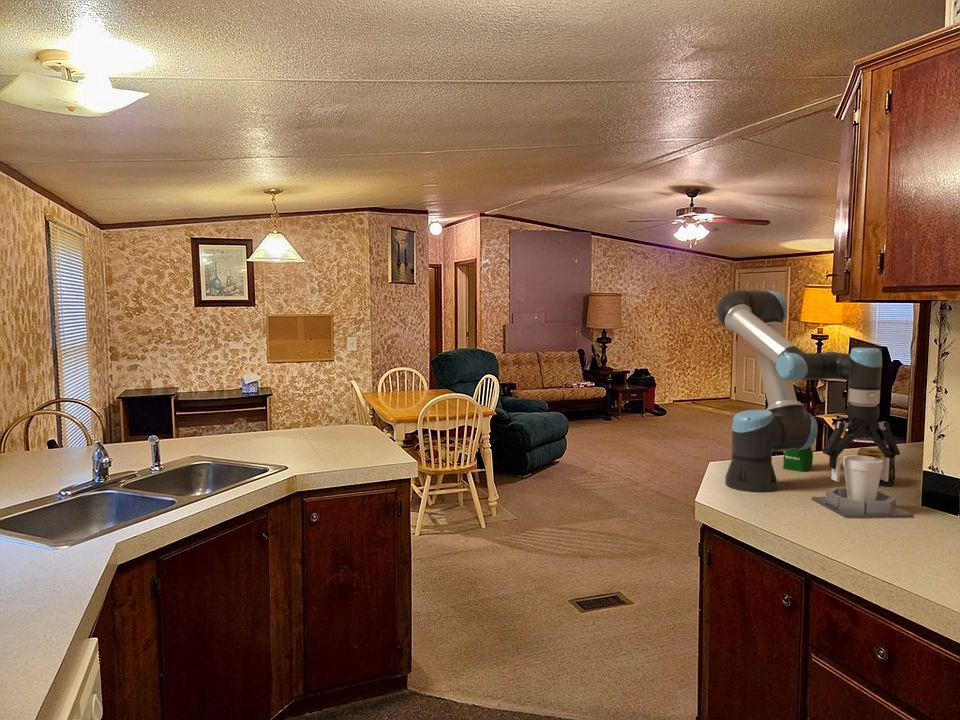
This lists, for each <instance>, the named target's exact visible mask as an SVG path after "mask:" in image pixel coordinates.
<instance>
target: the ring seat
mask: <svg viewBox="0 0 960 720" xmlns="http://www.w3.org/2000/svg"><path fill="white" fill-rule="evenodd" d="M811 500H812V501H814V502H815V503H817V504H819V505H821V506H822V507H825V508H827V509H829V510H830V511H832V512H834V513H836V514H838V515H840V516H842V518H843V517H844V518H846V519H880V518H882V519H883V518H884V519H889V518H890V519H891V518H892V519H893V518H894V519H895V518H897V519H899V518H901V519H902V518H905V519H906V518H911V519H912V518H915V516H914V514H913V513H911V512H909V511H907V510H904V509H902V508H900V507H898V506H897V497H896V496H894V495H892V494H889V493H887V492H884V491H882V490H878V491H877V497H876V501H861V500H855V499H849V498H848V497H847V488H846V486H843V487H842V486H836V487H835V486H834V487H831V488H830V489H827V490H826V491H825V496H811Z"/></svg>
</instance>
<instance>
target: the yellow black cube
mask: <svg viewBox="0 0 960 720" xmlns="http://www.w3.org/2000/svg"><path fill="white" fill-rule="evenodd" d="M857 455H860V456H870V457H875V458H879V459H881V456H885V455H884V454H883V453H882V452H881V450H880V449H879V448H869V447H867V448H866V447H859V449H858V451H857ZM895 458H896V457H895ZM895 458H892V467H891V469H889V476H888V481H883V480H881V479H880V481H879V487H891V488H893V487H894V485H895V480H896V467H895Z"/></svg>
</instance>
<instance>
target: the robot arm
mask: <svg viewBox="0 0 960 720" xmlns="http://www.w3.org/2000/svg"><path fill="white" fill-rule="evenodd" d="M716 304H717V305H716V310H715V312H716V316H717V319H718V321H719V323H720V324H721V325H722V326H723V327H725V328H726V329H727V330H728V331H730V332H736V333H737V335H740V336H741V337H742V338H743V339H744V340H746V341H747V342H748V343H749V344H750V345H752V347H754V351H755V354H756V358H757V364H758V367H759V371H760V375H761V379H762V385H763V388H764V392H765V396H766V400H767V408H766V409H748V410H743V411H739V412H737V413H736V414H734V415H733V418H732V424H731V425H732V426H731V431H732V432H731V434H732V435H731V437H732V438H731V461H730V463H729V467H728V470H727V472H726V474H725V481H724V482H725V485H726V486H727V487H729V488H732V489H735V490H741V491H747V492H761V493H762V492H772V491H775V490H777V489H778V479H777V476H776V472H775V469H774V466H773V462H772V461H773V452H784V451H789V450H793V451H797V450H801V449H806V448H809V447H810V446H811V445H812V444H813V445H814V443H815V440H816V439H817V437H818V432H819V431H818V430H819V429H818V422H817V419H816V418H815V416H813V415H812V414H811V413H809V412H808V413H807V412H805V411H806V410H805V406H804V404H803V403H801V402H800V401H798V400H797V395H796V392H795V387H794V383H793V381H796V382H797V381H806V380H807V381H808V380H843V381H844V380H845V381H849V383H848V396H847V397H848V399H847V400H848V401H847V402H849V404H848V405H847V421H846V422H844V421H840V420H836V421H835V425H834V430H833V431H832V433H831V434H830V437H829V438H828V440H827V442H826V443H825V446H824V448H823V450H822V453H823V454H824V455H826V456H829V464H828V465H829V466H828V467H829V468H830V469H831V480H833V481H835V482H840V479H841V478H840V477H841V476H840V475H841V474H840V473H841V458H840V457H839V456H840V454H842V452H843V451H844V450H845V449H846V448H847V447H848V445H849V444H850V443H851V442H853V441H855V439H871V440H872V442H874V444H875V446H877V449H880V450H881V452H882V453H883V454H884V455H885V456H881V460H883V469H882V470H881V476H880V479H881V480H883V481H888V476H889V469H891V467H892V458H896V456H900V455H901V451H900V450H899V447H898V445H897V443H896V441H895V438H894V436H893V434H892V432H891V423H890V422H888V421H884V420H881V421H880V422H879V419H880V407H879V404H880V400H881V384H882V383H881V382H882V371H883V370H882V369H883V368H882V367H883V355H882V354H883V353H882V350H880V348H876V347H853V348H851V350H850V353H844V352H837V351H823V352H813V353H811V352H810V353H809V352H805V351H803V350H802V349H800V348H799V347H798V346H797V345H795V344H793V342H791V341H789V339H787V338H785V337H784V336H783V335H782V334H781V329H782V328H783V327H784V324H783V323H784V322H785V320H787V319H786V318H787V314H788V306H787V303H786V300H785V298H784V297H783V296H782V295H781V293H778V292H777V291H774V290H766V289H761V290H743V289H741V290H738V289H735V290H731V291H729V292H727V293H725V294H724V295H722V296H721V298H720V299H719V300H718V302H717V303H716ZM846 429H848V430H847V431H846V432H844V431H845V430H846ZM878 429H879V430H880V431H881V434H882V437H883V438H884V441H885V442H884V441H883V439H882V438H881V436H880V435H879V433H878V432H877V431H878ZM843 433H844V434H843ZM841 437H842V438H841Z"/></svg>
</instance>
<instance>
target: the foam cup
mask: <svg viewBox="0 0 960 720" xmlns="http://www.w3.org/2000/svg"><path fill="white" fill-rule="evenodd" d="M842 463H843V464H842V466H843V468H844V478H845V487H846V488H847V497H848V498H849V499H855V500H861V501H876V497H877V491H879V487H880V485H879V481H880V476H881V470H882V469H883V460H881V459H879V458H875V457H870V456H860V455H858V454H854V455H853V454H852V455H849V454H848V455H845V456H843V461H842Z"/></svg>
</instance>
